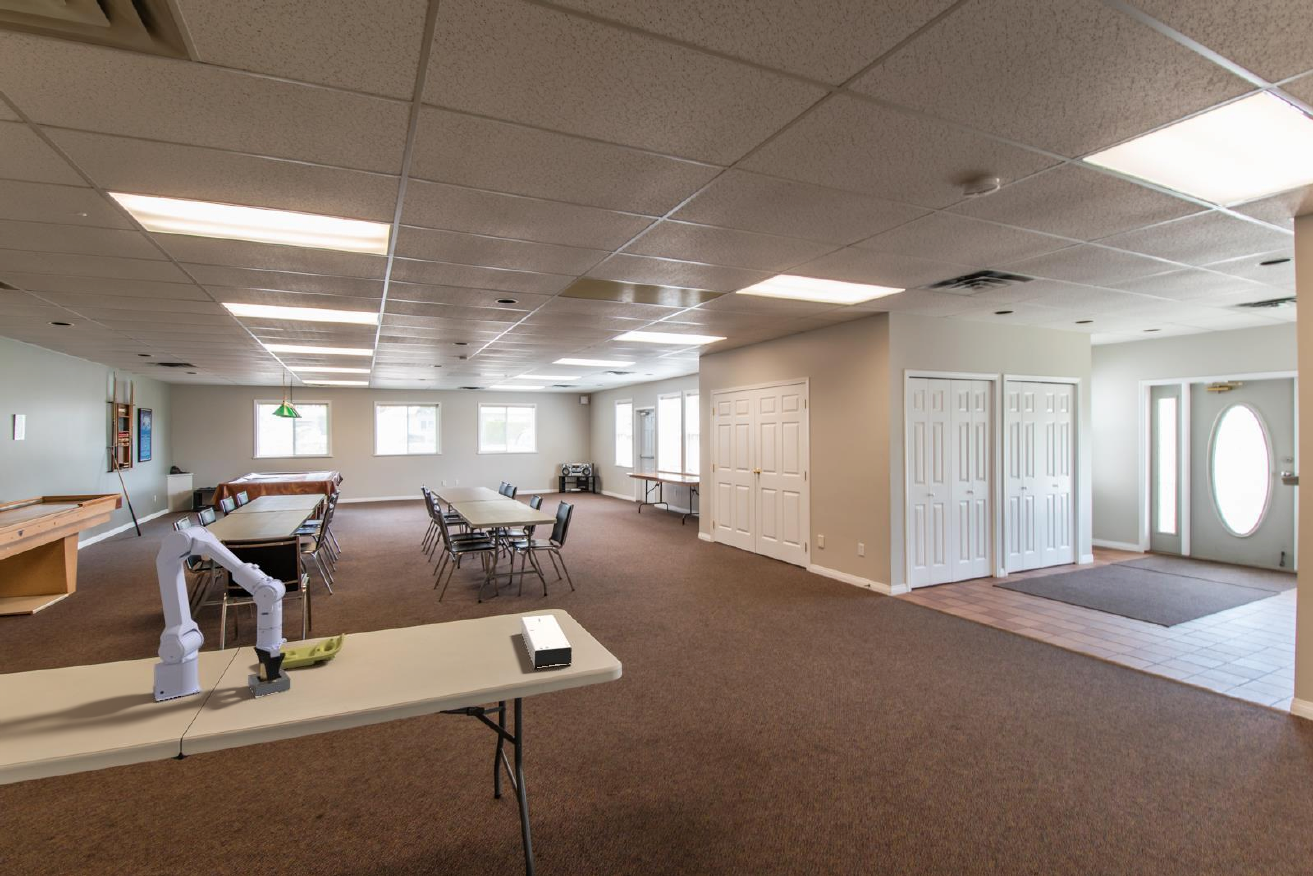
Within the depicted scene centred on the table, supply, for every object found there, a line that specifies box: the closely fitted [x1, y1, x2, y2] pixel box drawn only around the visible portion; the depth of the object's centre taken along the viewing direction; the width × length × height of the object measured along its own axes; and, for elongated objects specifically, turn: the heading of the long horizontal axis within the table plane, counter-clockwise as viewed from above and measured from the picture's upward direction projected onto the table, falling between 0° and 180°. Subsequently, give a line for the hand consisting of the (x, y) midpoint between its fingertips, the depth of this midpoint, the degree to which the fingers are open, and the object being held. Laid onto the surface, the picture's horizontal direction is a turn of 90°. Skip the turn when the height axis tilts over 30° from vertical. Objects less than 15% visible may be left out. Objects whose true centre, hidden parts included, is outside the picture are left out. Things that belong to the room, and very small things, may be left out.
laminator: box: [520, 614, 573, 669], centre depth 203 cm, size 34×12×6 cm, turn 19°
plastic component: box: [280, 633, 345, 670], centre depth 188 cm, size 20×7×10 cm
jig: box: [247, 668, 291, 697], centre depth 169 cm, size 8×10×3 cm
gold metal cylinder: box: [259, 662, 278, 682], centre depth 169 cm, size 4×4×7 cm
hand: (269, 675), depth 169 cm, fingers open, 7 cm apart
